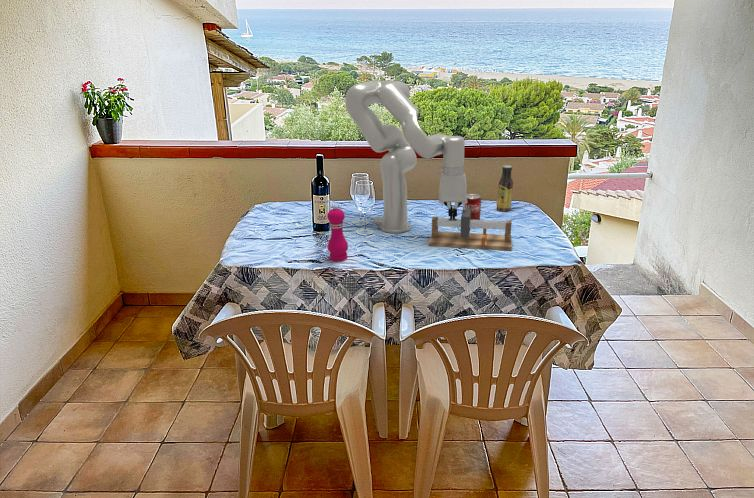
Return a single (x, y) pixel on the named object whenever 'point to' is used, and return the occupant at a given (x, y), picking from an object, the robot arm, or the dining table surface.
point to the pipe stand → (471, 239)
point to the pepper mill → (337, 235)
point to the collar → (465, 223)
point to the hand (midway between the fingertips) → (452, 218)
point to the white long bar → (472, 223)
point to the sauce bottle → (505, 189)
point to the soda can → (473, 206)
